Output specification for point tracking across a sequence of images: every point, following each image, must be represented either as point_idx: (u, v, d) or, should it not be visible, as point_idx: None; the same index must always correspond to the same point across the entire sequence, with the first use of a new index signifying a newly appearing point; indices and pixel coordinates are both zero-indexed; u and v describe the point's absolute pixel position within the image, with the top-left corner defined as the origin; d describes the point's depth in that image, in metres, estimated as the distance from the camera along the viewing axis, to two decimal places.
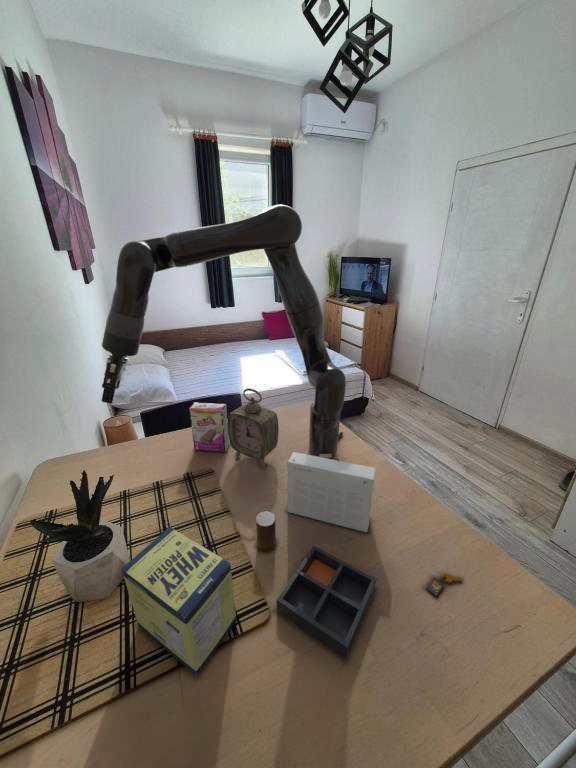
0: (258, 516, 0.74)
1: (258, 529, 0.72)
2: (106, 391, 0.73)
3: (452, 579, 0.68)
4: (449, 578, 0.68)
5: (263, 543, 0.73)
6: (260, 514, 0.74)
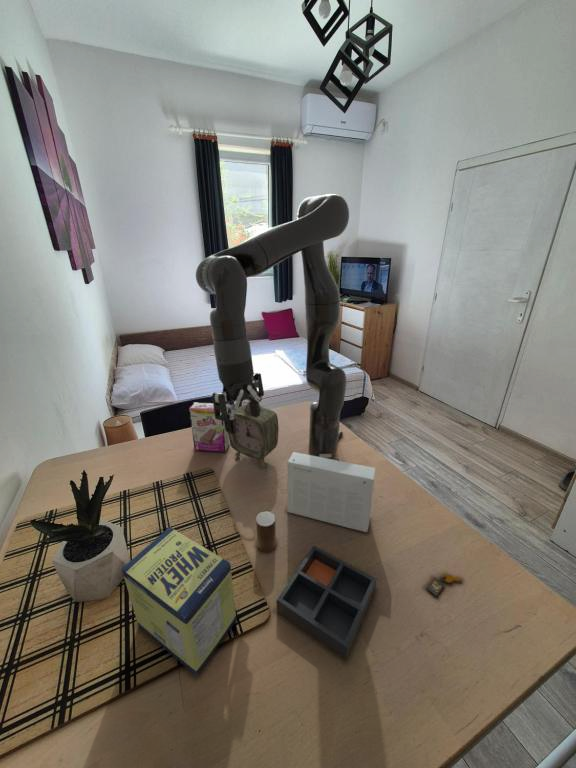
0: (258, 516, 0.74)
1: (258, 529, 0.72)
2: (225, 422, 0.70)
3: (452, 579, 0.68)
4: (449, 578, 0.68)
5: (263, 543, 0.73)
6: (260, 514, 0.74)
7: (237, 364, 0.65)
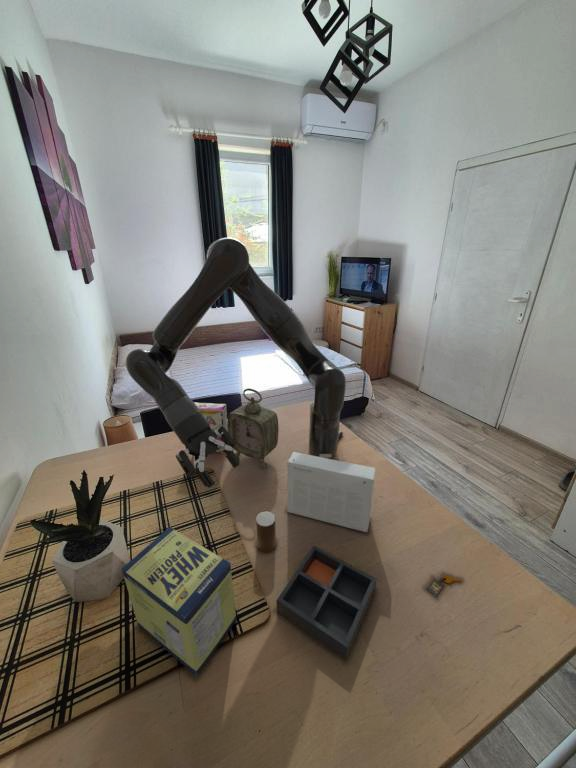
0: (258, 516, 0.74)
1: (258, 529, 0.72)
2: (199, 477, 0.73)
3: (452, 580, 0.68)
4: (449, 579, 0.68)
5: (263, 543, 0.73)
6: (260, 514, 0.74)
7: (184, 420, 0.74)
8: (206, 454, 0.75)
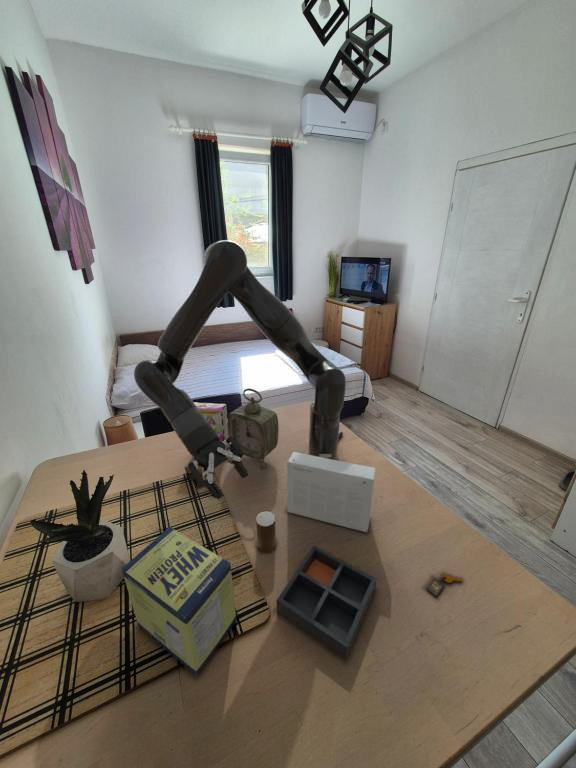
0: (258, 516, 0.74)
1: (258, 529, 0.72)
2: (208, 489, 0.72)
3: (452, 579, 0.68)
4: (449, 578, 0.68)
5: (263, 543, 0.73)
6: (260, 514, 0.74)
7: (193, 431, 0.73)
8: (215, 465, 0.75)
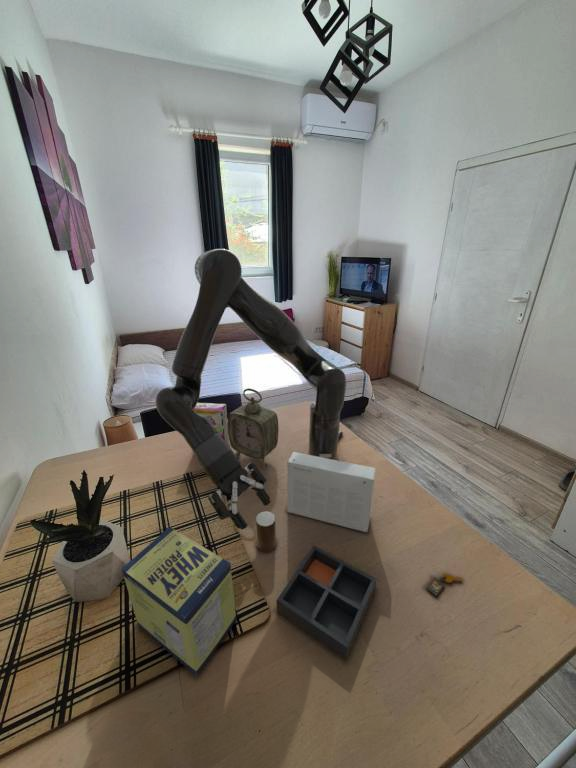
0: (258, 516, 0.74)
1: (258, 529, 0.72)
2: (232, 519, 0.71)
3: (452, 579, 0.68)
4: (449, 578, 0.68)
5: (263, 543, 0.73)
6: (260, 514, 0.74)
7: (216, 460, 0.72)
8: (238, 494, 0.73)
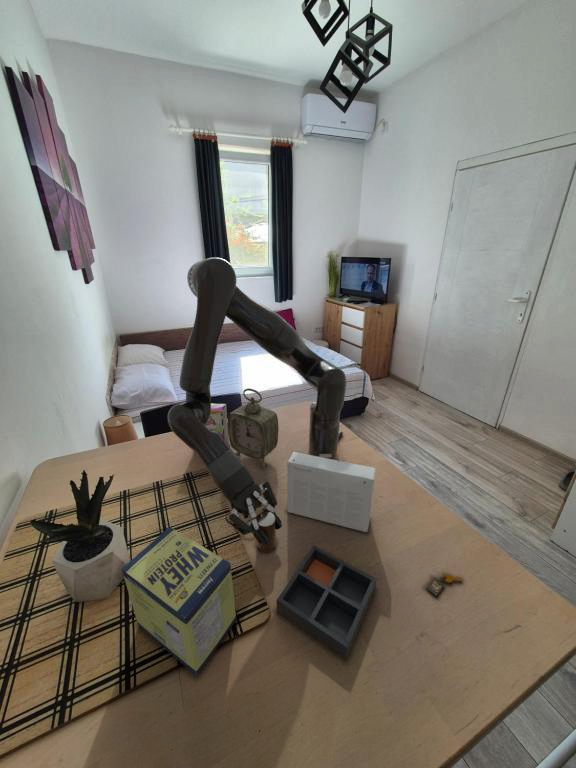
0: (258, 516, 0.74)
1: None
2: (254, 534, 0.72)
3: (452, 579, 0.68)
4: (449, 578, 0.68)
5: None
6: (260, 514, 0.74)
7: (230, 477, 0.71)
8: None
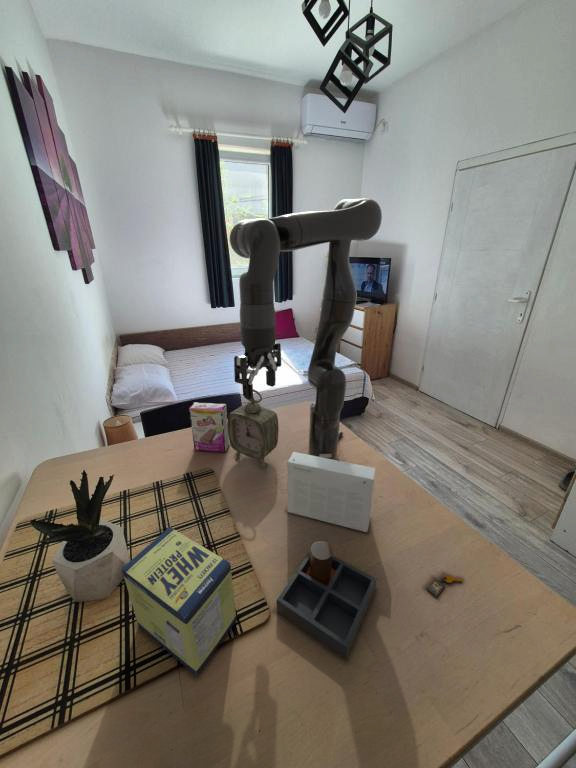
0: (313, 547, 0.66)
1: (314, 562, 0.64)
2: (243, 386, 0.71)
3: (452, 579, 0.68)
4: (449, 578, 0.68)
5: (319, 577, 0.65)
6: (314, 544, 0.66)
7: (262, 329, 0.67)
8: (258, 368, 0.72)
